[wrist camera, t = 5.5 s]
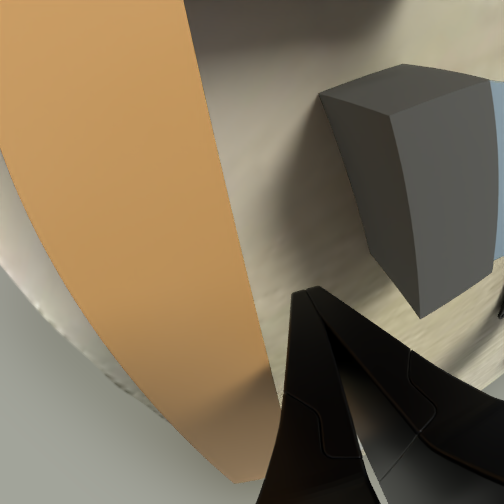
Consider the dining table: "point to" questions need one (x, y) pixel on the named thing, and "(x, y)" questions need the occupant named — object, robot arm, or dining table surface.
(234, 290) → the tan wooden bar
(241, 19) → the dining table surface
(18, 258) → the dining table surface
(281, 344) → the dining table surface
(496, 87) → the pad
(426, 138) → the charcoal wedge block
